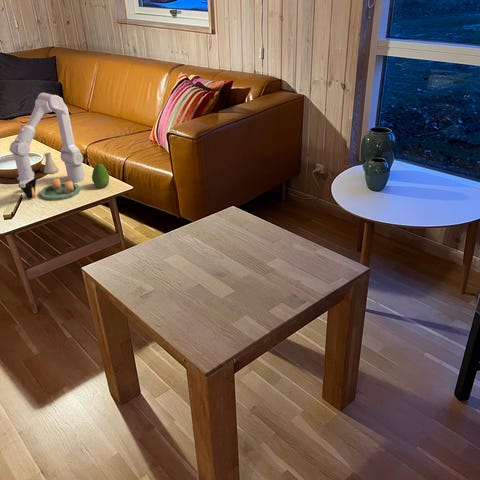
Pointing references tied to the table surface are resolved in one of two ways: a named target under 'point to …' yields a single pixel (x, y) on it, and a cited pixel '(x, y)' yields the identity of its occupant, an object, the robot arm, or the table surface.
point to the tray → (58, 192)
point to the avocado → (100, 176)
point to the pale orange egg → (33, 194)
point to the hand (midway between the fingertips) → (31, 196)
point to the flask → (49, 165)
